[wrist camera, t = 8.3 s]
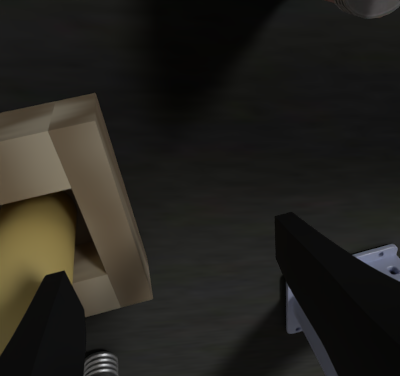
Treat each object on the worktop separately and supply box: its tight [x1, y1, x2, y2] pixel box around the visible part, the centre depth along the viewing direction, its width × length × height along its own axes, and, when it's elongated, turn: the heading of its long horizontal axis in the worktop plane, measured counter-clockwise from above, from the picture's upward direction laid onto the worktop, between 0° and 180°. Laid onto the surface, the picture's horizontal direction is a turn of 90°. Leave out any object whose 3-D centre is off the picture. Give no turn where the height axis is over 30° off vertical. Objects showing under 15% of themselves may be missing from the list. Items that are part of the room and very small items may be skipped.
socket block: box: [0, 93, 153, 317], centre depth 20 cm, size 12×12×4 cm
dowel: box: [0, 191, 77, 355], centre depth 18 cm, size 4×4×8 cm
